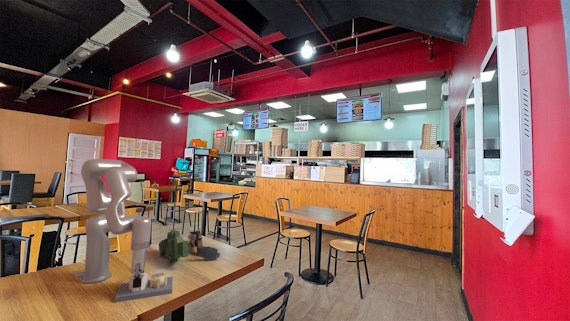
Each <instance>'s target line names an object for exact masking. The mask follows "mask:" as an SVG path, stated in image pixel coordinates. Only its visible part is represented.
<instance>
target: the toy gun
mask: <svg viewBox="0 0 570 321" xmlns="http://www.w3.org/2000/svg"><path fill="white" fill-rule="evenodd" d="M187 239H188V240H189V245H190V244H191V245H190V246H194V247H195V248H196V253H197V252H198V250H199V248H200V246H204V245H203V236H202V231H201V230H195V231H190V232H189V234H188V235H187Z"/></svg>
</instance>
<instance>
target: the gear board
mask: <svg viewBox="0 0 570 321" xmlns="http://www.w3.org/2000/svg"><path fill="white" fill-rule="evenodd" d="M173 278H174V277H173V276H169V277H168V273H167V272H166V271H162V272H157V273H154V274H152V275H151V276H150V279H148V286H147V287H145V288H144V289H143V290H139V291H134V292H133V291H131V290H130V289H129V281H128V282H121V283H120V286H119V288H118V290H117V291H116V292H117V293H116V294H115V296H114V303H120V302H126V301H127V302H128V301H131V300H133V301H134V300H139V299H140V300H141V299H144V298H151V297H157V296H163V295H169V294H171V295H172V294H173Z"/></svg>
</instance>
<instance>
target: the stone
mask: <svg viewBox="0 0 570 321" xmlns="http://www.w3.org/2000/svg"><path fill="white" fill-rule="evenodd" d="M195 254H196V255H197V256H198V257H199V258H203V259H205V260H206V261H207V262H209V261H211V260H214V259H220V257H221V253H220V252H218V248H216V247H212V246H206V245H203V246H200V248H199V250H198V252H197V251H196V253H195Z"/></svg>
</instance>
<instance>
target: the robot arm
mask: <svg viewBox="0 0 570 321" xmlns="http://www.w3.org/2000/svg"><path fill="white" fill-rule="evenodd" d="M80 174H81V178H82V180H83V183H84V186H85V194H86V204H87V210H88V211H89V212H90V213H102V212H105V213H102V214H96V215H93V216H91V217H88V218H87V220H86V221H85V223H84V227H85V229H84V230H85V234H86V246H85V248H86V249H85V261H84V262H85V263H84V269H82V270H76V271H73V276H75V278H77V277H80V279H79V280H80V283H82V284H95V283H99V282H103V281H106V280H107V279H109V278H111V277H112V275H113V272H112V271H111V270H109V268H110V266H109V264H110V252H111V251H110V250H111V249H110V248H111V241H110V240H111V239H110V238H109V237H108V235H107V234H106V233H111V234H113V235H123V234H126V233H131V242H130V250H131V251H132V257H131V269H130V274H133V275H134V279H133V288H138V287H141V282H142V278H141V274H142V273H145V267H146V262H147V255H148V254H147V252H148V250H149V249H150V248H151V236H152V234H151V232H152V231H151V230H152V218H150V217H146V216H142V215H140V214H132V215H127V214H126V206H125V205H126V203H125V200H127V199H129V198H130V197H131V196H132V195H133V194H132V189H131V188H130V185H129V184H130V183H134V182H136V181H137V180H138V171H137V170H136V168H135V167H134V166H132V165H131V164H129V163H127V162H125V161H123V160H120V159H111V158H110V159H108V158H106V159H104V158H91V159H87V160H86V161H84V162H83V163H82V166H81V169H80ZM100 176H101V177H100ZM102 176H103V177H104V179H105V180H104V179H103V178H102ZM139 273H140V274H139Z"/></svg>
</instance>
